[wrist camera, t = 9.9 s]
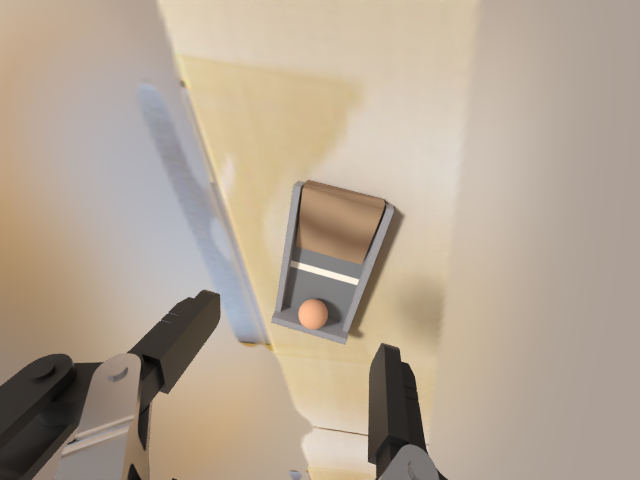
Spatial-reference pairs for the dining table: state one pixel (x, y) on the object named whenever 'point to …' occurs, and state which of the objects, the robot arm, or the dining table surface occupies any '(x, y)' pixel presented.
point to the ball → (313, 314)
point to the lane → (323, 278)
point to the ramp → (337, 221)
